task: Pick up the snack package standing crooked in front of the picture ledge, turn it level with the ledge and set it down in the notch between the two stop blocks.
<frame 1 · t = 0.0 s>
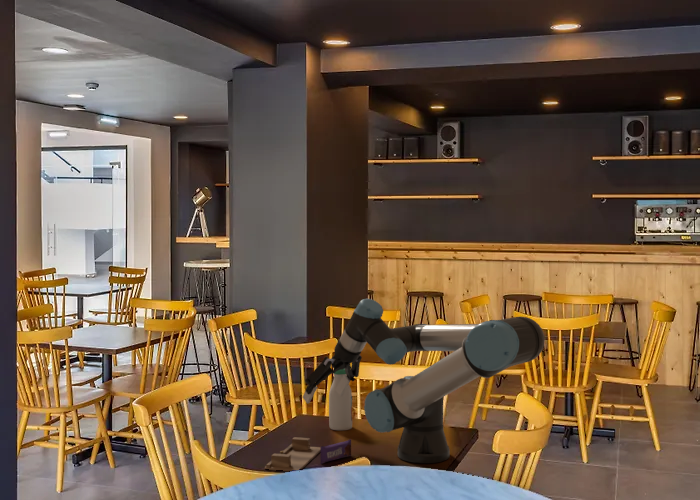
hand: (322, 396, 235), 15 cm above the table, tool tilted 35°, fingers open, 13 cm apart
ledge: (294, 459, 223), on the table
snack package: (336, 460, 222), on the table
milk bottle: (340, 428, 257), on the table
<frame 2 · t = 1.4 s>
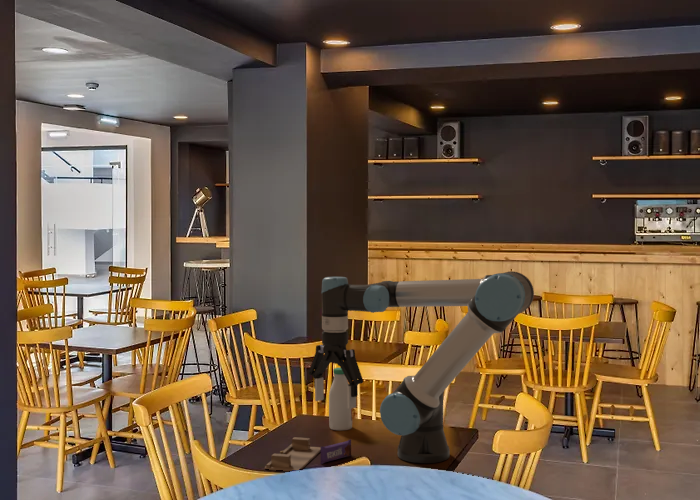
hand: (335, 404, 222), 16 cm above the table, tool pointing down, fingers open, 13 cm apart
nothing on the table moved.
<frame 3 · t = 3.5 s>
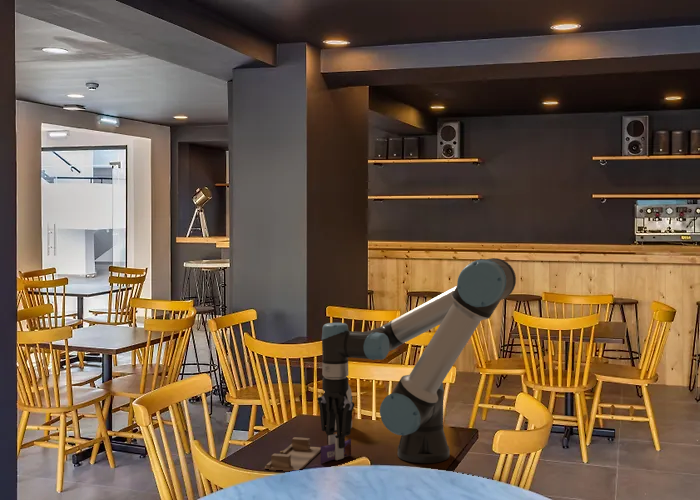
hand: (336, 457, 222), 1 cm above the table, tool pointing down, fingers closed on snack package, 2 cm apart
snack package: (336, 460, 222), on the table, touching gripper
everything else where it was.
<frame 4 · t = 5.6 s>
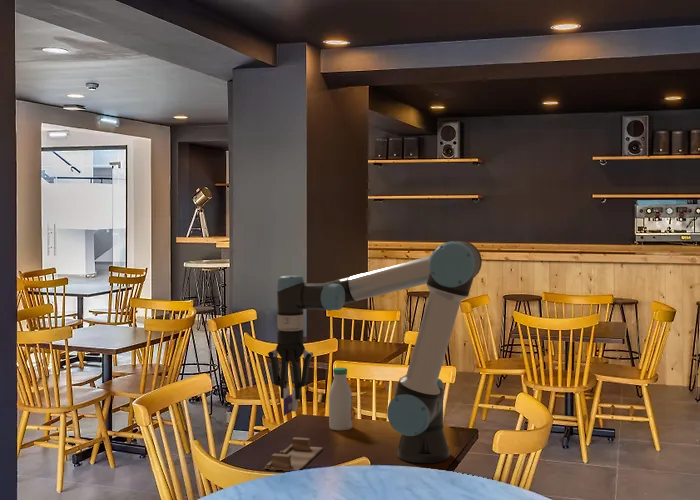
hand: (290, 409, 223), 14 cm above the table, tool pointing down, fingers closed on snack package, 2 cm apart
snack package: (290, 412, 223), point 14 cm above the table, touching gripper
everything else where it was.
when the fingers open (3 cm above the table, at t = 7.5 s): snack package drops 1 cm, resting on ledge.
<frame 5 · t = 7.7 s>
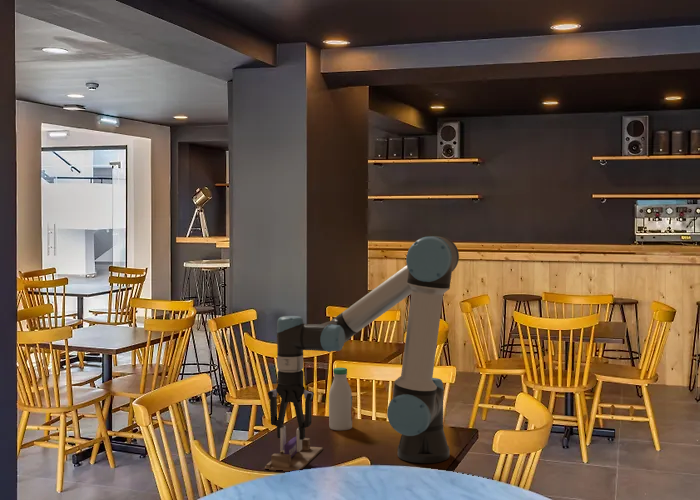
hand: (291, 449, 223), 3 cm above the table, tool pointing down, fingers open, 4 cm apart
snack package: (291, 457, 223), resting on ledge
everything else where it was.
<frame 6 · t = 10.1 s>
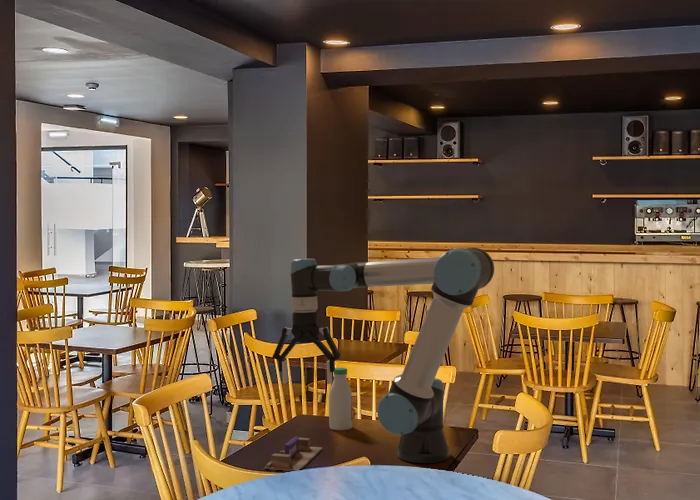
hand: (307, 382, 227), 21 cm above the table, tool pointing down, fingers open, 13 cm apart
nothing on the table moved.
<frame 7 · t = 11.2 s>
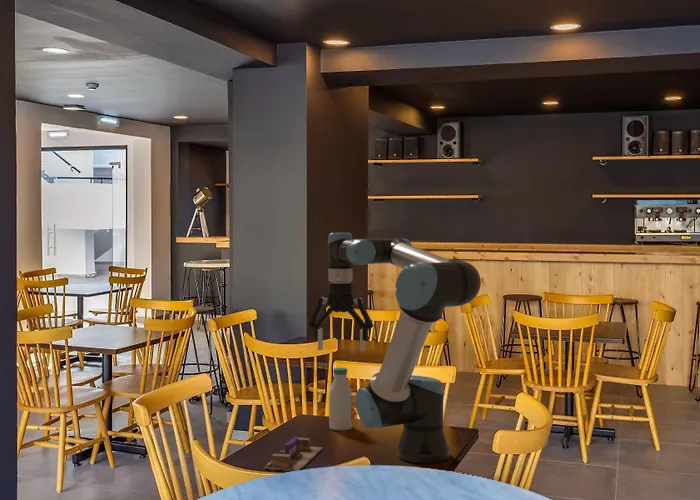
hand: (341, 350, 239), 29 cm above the table, tool pointing down, fingers open, 13 cm apart
nothing on the table moved.
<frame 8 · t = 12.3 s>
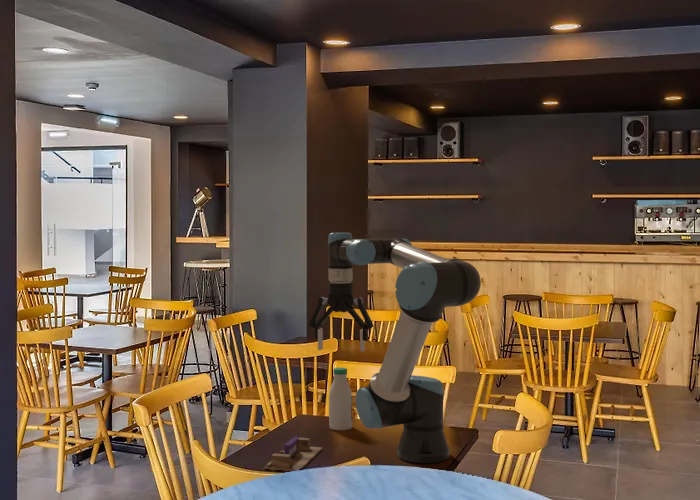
hand: (341, 350, 239), 29 cm above the table, tool pointing down, fingers open, 13 cm apart
nothing on the table moved.
at the end: snack package inside the target area (0.1 cm from its centre), resting on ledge; snack package tilted 0°; the gripper is holding nothing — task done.
